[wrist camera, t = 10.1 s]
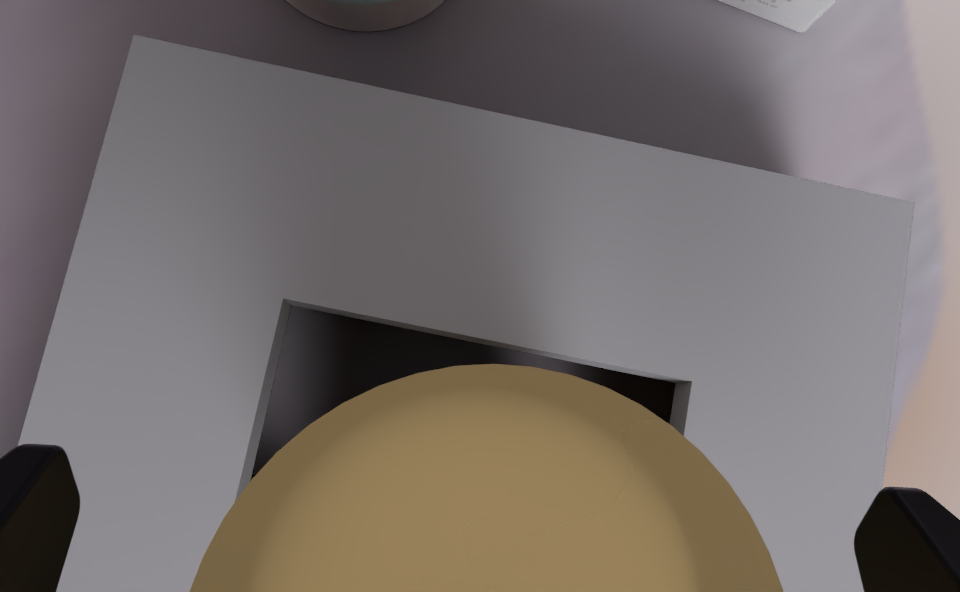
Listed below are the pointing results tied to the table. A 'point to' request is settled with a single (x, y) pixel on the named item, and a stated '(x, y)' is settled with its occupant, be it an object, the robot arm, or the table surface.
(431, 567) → the brass cylinder
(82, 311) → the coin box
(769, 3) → the small box
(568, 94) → the table surface
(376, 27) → the coffee cup
